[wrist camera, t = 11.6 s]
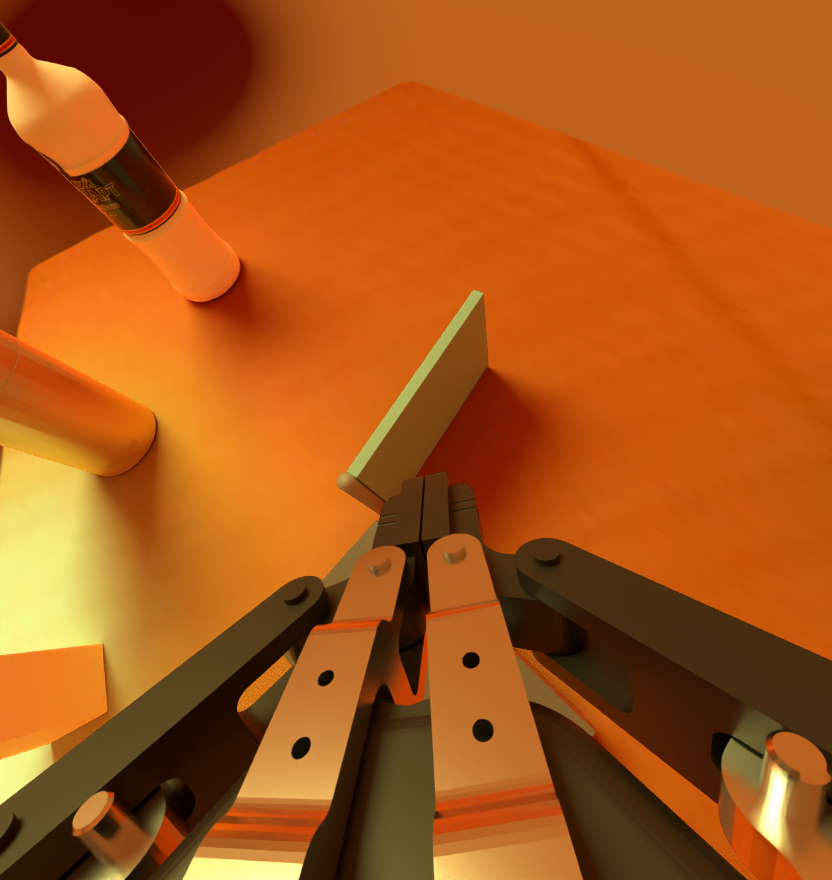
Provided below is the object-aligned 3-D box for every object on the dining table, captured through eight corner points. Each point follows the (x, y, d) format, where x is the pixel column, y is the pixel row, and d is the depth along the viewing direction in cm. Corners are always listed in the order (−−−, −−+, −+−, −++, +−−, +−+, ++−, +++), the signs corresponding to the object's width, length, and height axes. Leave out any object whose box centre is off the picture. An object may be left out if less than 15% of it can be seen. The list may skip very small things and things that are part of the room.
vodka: (254, 274, 52) (-23, -83, 24) (199, 317, 51) (-152, -4, 24) (226, 243, 55) (-40, -95, 28) (174, 282, 55) (-152, -28, 27)
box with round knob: (293, 633, 33) (268, 638, 29) (387, 527, 35) (374, 519, 31) (494, 896, 24) (492, 947, 21) (606, 736, 26) (621, 757, 22)
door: (389, 521, 35) (346, 493, 25) (379, 514, 35) (333, 484, 26) (489, 366, 39) (485, 292, 29) (479, 362, 39) (471, 287, 30)
